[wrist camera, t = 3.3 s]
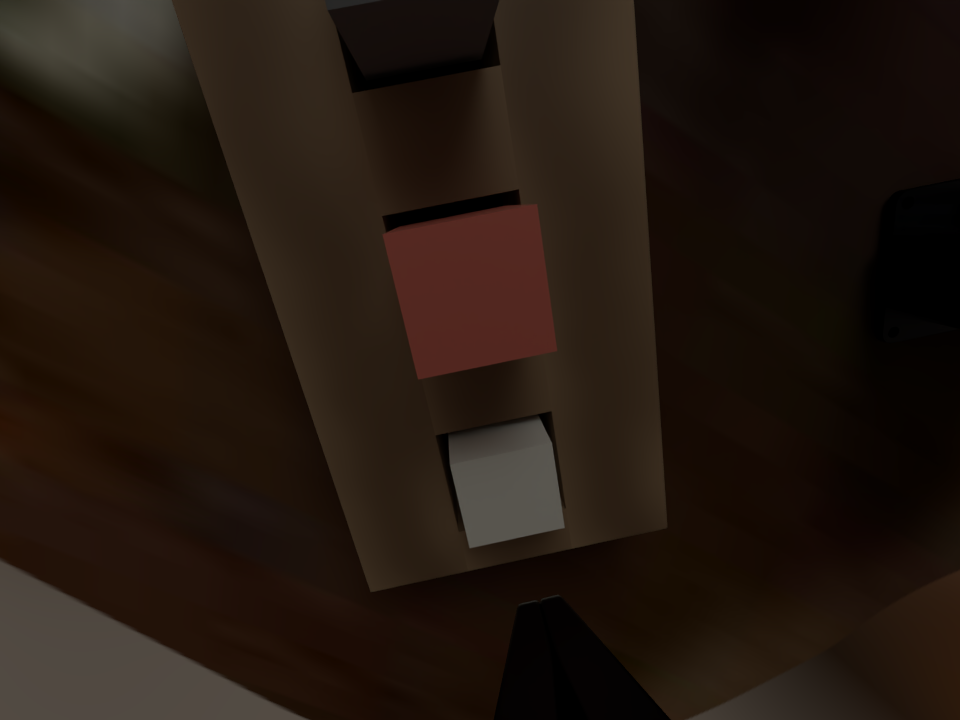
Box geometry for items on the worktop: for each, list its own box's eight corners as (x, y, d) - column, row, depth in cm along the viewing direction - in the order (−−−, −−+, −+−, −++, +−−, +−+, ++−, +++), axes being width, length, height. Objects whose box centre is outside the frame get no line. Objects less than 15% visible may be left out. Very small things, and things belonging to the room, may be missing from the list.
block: (571, -136, 15) (617, -254, 11) (627, 473, 22) (667, 527, 18) (199, -71, 14) (114, -169, 11) (382, 525, 22) (370, 592, 18)
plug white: (524, 387, 20) (551, 442, 15) (535, 455, 21) (564, 527, 16) (446, 403, 20) (449, 464, 15) (462, 471, 21) (469, 548, 16)
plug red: (504, 205, 15) (537, 203, 10) (521, 308, 16) (557, 350, 11) (399, 226, 15) (382, 234, 10) (423, 328, 16) (418, 379, 11)
